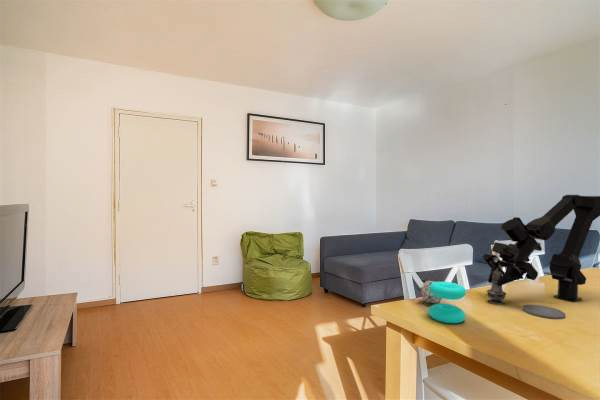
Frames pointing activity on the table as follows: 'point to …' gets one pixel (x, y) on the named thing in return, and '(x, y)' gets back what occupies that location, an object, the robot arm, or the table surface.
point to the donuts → (447, 311)
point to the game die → (428, 293)
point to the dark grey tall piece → (496, 289)
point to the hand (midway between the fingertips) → (493, 283)
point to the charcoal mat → (544, 311)
